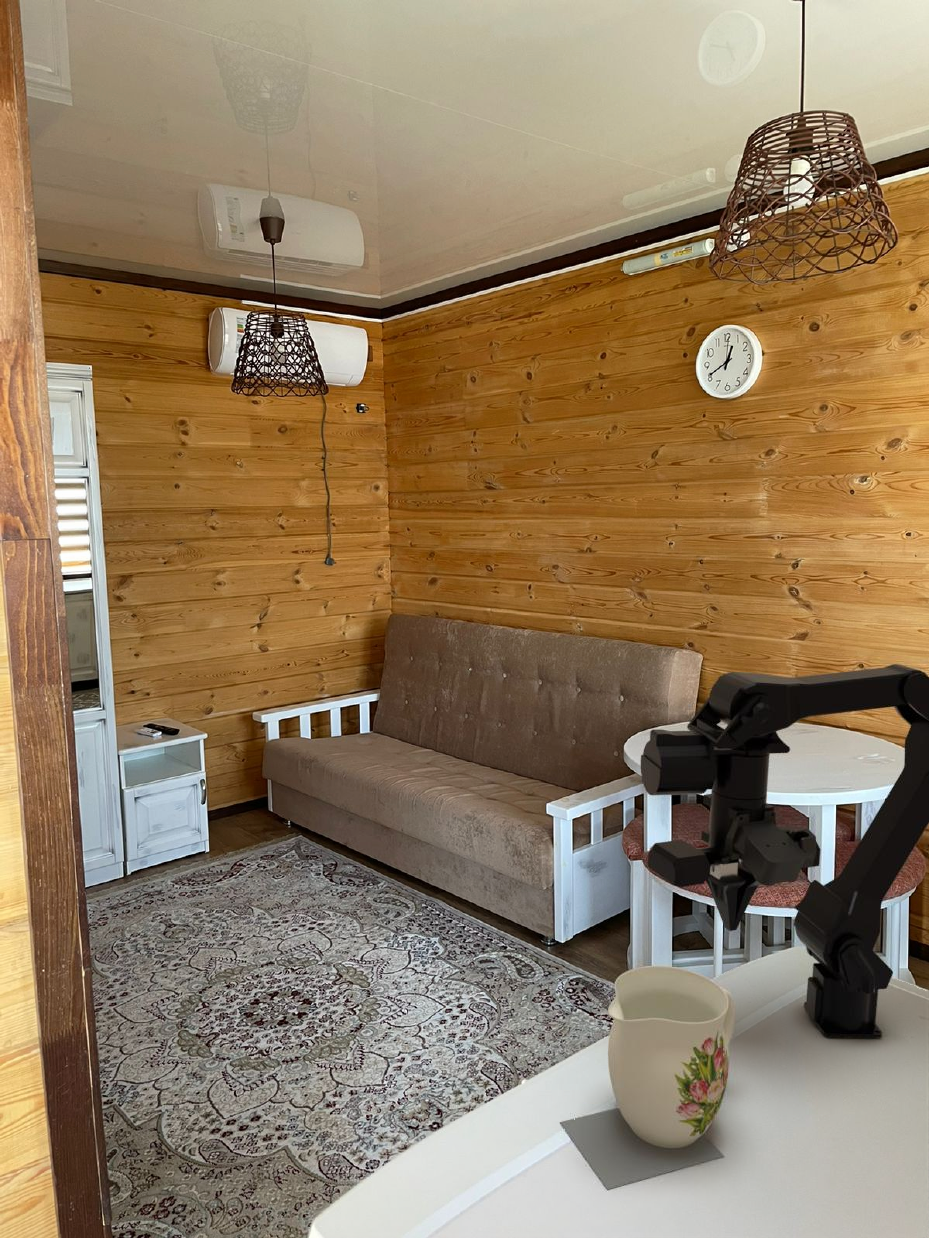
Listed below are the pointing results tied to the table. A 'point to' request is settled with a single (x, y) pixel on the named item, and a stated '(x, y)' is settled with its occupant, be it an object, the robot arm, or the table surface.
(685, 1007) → the pitcher
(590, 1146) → the slate pad
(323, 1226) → the table surface
